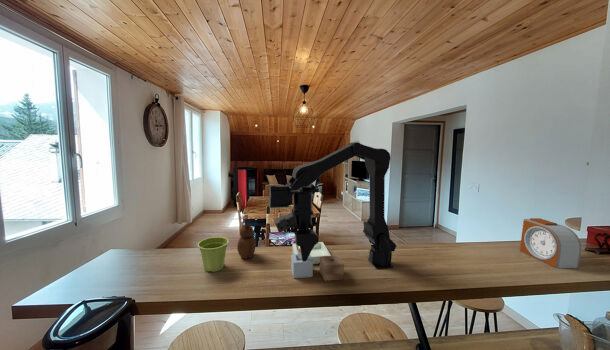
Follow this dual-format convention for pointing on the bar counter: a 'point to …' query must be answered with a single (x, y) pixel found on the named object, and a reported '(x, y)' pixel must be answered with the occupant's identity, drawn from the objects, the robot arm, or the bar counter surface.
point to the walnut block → (331, 267)
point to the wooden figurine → (246, 241)
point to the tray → (315, 252)
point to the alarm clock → (550, 243)
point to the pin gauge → (299, 254)
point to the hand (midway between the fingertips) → (301, 254)
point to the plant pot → (213, 253)
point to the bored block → (301, 267)
